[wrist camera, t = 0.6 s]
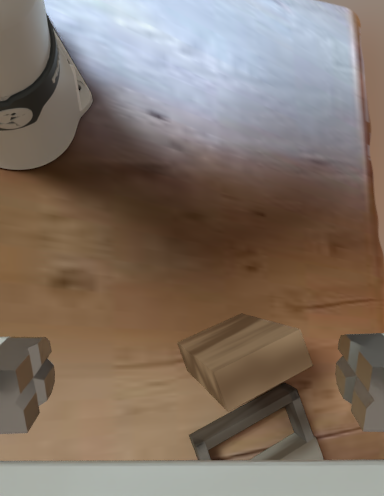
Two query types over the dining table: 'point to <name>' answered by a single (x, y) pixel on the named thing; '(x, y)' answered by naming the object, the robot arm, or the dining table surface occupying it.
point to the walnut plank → (244, 358)
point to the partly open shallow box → (290, 448)
